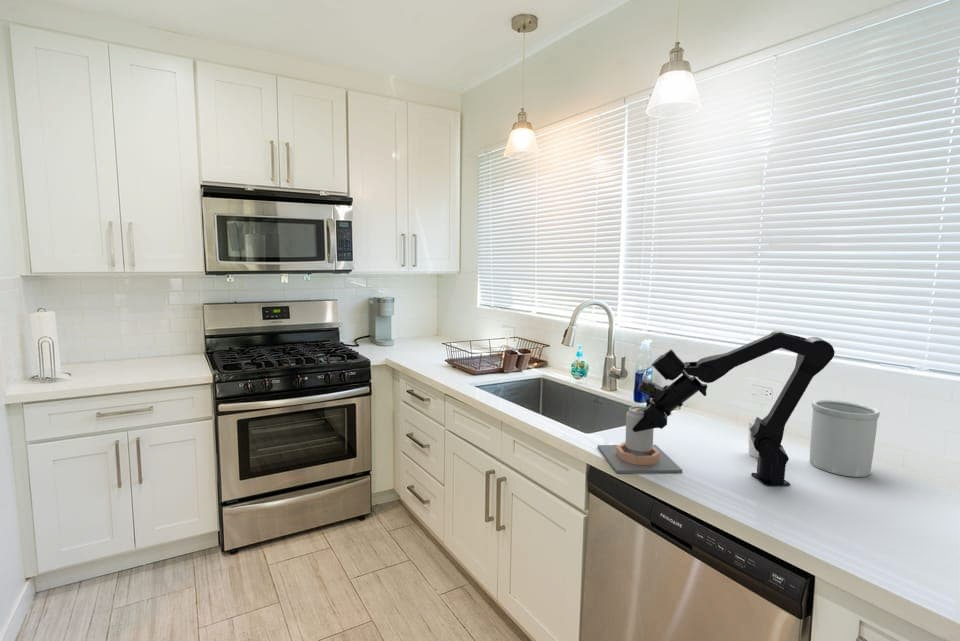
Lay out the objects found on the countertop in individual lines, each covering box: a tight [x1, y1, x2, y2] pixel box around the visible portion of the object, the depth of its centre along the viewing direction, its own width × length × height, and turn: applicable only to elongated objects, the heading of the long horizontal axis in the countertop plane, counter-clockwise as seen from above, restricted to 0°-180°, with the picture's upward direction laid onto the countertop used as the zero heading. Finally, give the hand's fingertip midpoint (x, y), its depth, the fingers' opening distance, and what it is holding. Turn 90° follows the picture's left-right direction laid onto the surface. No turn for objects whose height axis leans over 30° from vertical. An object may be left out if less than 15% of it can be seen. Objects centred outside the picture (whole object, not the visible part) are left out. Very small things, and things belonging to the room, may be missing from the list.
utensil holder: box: [809, 398, 881, 478], centre depth 133 cm, size 15×15×18 cm
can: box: [624, 405, 655, 453], centre depth 137 cm, size 8×8×12 cm
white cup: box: [748, 418, 759, 459], centre depth 141 cm, size 8×8×10 cm
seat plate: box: [597, 441, 683, 474], centre depth 138 cm, size 18×18×3 cm
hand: (634, 426), depth 137 cm, fingers closed on can, 7 cm apart
